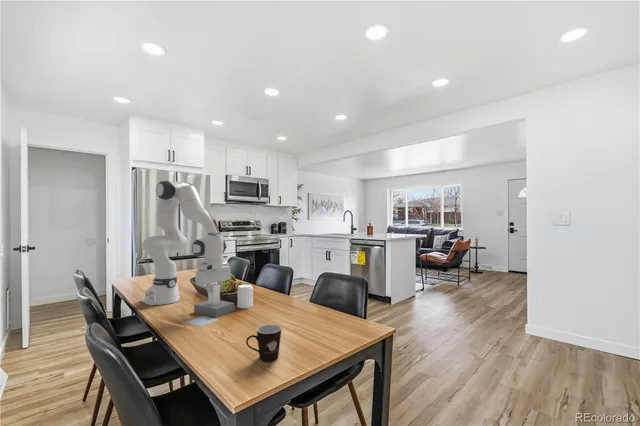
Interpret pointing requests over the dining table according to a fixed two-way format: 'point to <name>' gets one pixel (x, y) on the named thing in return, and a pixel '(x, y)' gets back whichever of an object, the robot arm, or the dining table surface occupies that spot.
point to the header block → (214, 308)
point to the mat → (202, 321)
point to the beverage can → (245, 296)
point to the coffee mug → (267, 342)
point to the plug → (214, 295)
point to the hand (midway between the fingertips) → (213, 291)
